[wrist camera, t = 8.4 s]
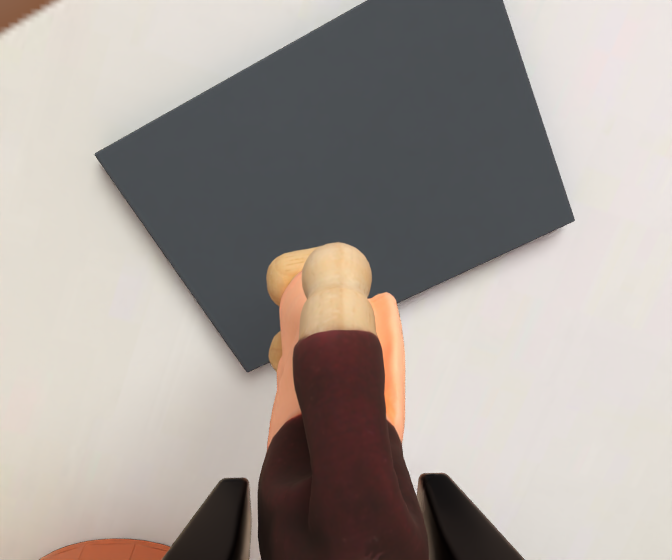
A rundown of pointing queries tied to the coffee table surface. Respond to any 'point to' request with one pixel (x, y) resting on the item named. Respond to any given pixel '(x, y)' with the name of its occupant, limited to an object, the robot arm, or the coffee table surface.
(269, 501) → the grandmother figurine
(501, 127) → the felt mat
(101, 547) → the desk pot
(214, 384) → the coffee table surface
